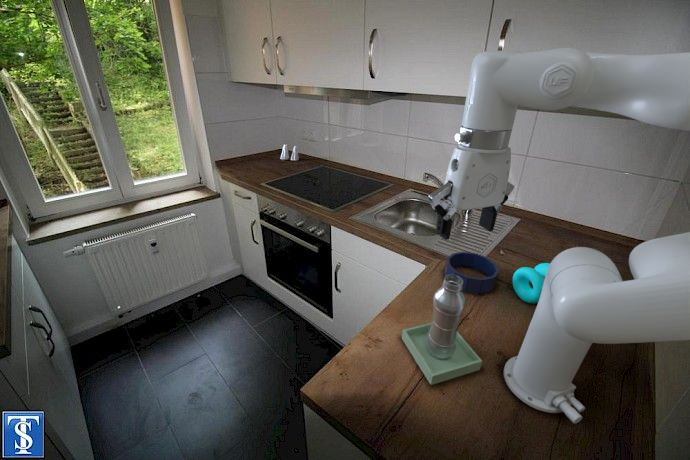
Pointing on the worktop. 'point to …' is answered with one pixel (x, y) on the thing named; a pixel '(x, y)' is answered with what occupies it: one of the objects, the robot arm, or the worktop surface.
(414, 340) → the tray
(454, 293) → the plastic bottle
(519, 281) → the donuts
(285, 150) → the shaker set
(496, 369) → the worktop surface
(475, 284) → the blue ring
